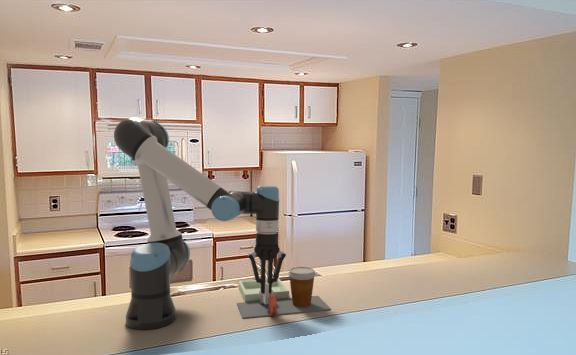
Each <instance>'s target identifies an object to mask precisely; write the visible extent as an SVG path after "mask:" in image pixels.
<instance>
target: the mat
mask: <svg viewBox="0 0 576 355" xmlns="http://www.w3.org/2000/svg"><path fill="white" fill-rule="evenodd" d="M236 306H237V308H238V310H239V313H240V314H239V315H241V318H242V319H253V318H254V319H255V318H264V317H271V316H270V315H269V310H268V308H267V307H266V305H260V304H259V301H252V302H244V301H243V302H236ZM331 310H332V308H331V307H330V306H328V304H327V303H326V301H324V300H323V299H322V298H321V297H320V296H319V295H312V298H311V305H310V306H308V307H296V306H294V305H293V302H292V297H289V298H286V299H277V315H276V316H284V315H293V314H304V313H313V312H314V313H315V312H316V313H317V312H322V311H323V312H324V311H325V312H326V311H331Z"/></svg>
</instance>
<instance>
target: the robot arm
mask: <svg viewBox="0 0 576 355" xmlns="http://www.w3.org/2000/svg"><path fill="white" fill-rule="evenodd" d="M113 140H114V143H115V145H116V146H117V148H118V149H119V150H120V151H121V152H122V153H124V154H125V155H126V156H128V157H130V158H131V162H132V163H133V164H135V165H136V166H137V169H138V174H139V178H140V183H141V191H142V194H143V195H142V196H143V199H144V200H143V201H144V205H145V211H146V215H147V220H148V226H149V227H148V228H149V232H150V235H149V236H148V238H147V239H146V240H147V243H146V244H141V245H138V246H137V247H135V248H133V249H132V251H131V252H130V259H129V263H130V264H129V265H130V291H131V294H130V296H131V297H130V302H129V305H128V307H127V311H126V315H125V325H126V326H127V327H128V328H131V329H134V330H144V331H145V330H153V329H154V330H155V329H160V328H162V327H166V326H168V325H171V324H172V323H173V322H175V321H176V320H177V309H176V307H175V304H174V301H173V298H172V295H171V278H172V277H173V276H174V275H176V274H178V273H180V272H181V271H182V270H183V269H184V268H185V267H186V266H187V265H188V263H189V261H190V257H191V251H190V248H189V245H188V243H187V242H185V241H184V238H183V234H182V232H181V231H179V230H178V229H177V227H176V226H177V225H176V220H175V215H174V214H175V213H174V210H173V205H172V201H171V200H172V199H171V194H170V190H169V189H170V188H169V184H168V183H169V182H170V183H172V184H173V185H175V186H176V187H178V188H179V189H181V190H182V191H183V192H185V193H186V194H188V195H189V196H190V197H192V198H193V199H195V200H196V201H197V202H199V203H200V204H202V205H203V206H204V207H206V208H207V209H209V210H210V211H211V213H212V216H213V217H214V218H215V219H217V221H220V222H228V221H232V220H234V219H235V218H236V217H238V216H241V215H255V231H256V233H255V247H254V249H253V251H252V252H248V253H247V257H248V259H249V260H250V263H251V268H252V271H253V275H254V280H256V282H257V283H261V293H262V294H264V299H263V302H264V303H265V304H268V298H269V293H271V292H272V284H273V282H277V280H278V278H279V276H280V272H281V269H282V264H283V261H284V259H285V258H286V256H287V254H286V253H285V252H284V251H281V250H280V247H279V233H278V232H279V224H280V223H279V218H280V217H279V216H280V194H279V193H280V190H279V188H278V187H277V186H276V185H275V186H274V185H258V186H257V187H256V190H255V191H237V190H235V191H234V190H227V189H224V188H223V187H222V186H220V185H219V184H217V183H216V182H214V181H213V180H212V179H210V177H207V176H206V175H204V173H202V172H201V171H199V170H197V169H196V168H195V167H193V166H192V165H191V164H189V163H188V162H186V161H185V160H183V159H182V158H180V157H179V155H176V154H175V153H174V152H173V151H171V150H169V148H167V147H168V145H169V142H170V137H169V133H168V131H167V129H166V128H165V127H164V126H163V124H161V123H159V122H157V121H155V120H152V119H143V118H139V117H128V118H124V119H122V120H121V121H120V122H119V123H117V125H116V126H115V129H114V132H113ZM168 181H169V182H168ZM256 256H257V257H258V259H259V261H260V275H259V272H258V267H257V263H256ZM276 257H277V261H276V264H275V267H274V266H273V265H274V259H275V258H276ZM266 261H267V262H266ZM266 263H267V264H266ZM266 265H267V275H266ZM273 269H274V271H273ZM266 277H267V278H266ZM265 279H267V282H265Z"/></svg>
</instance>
